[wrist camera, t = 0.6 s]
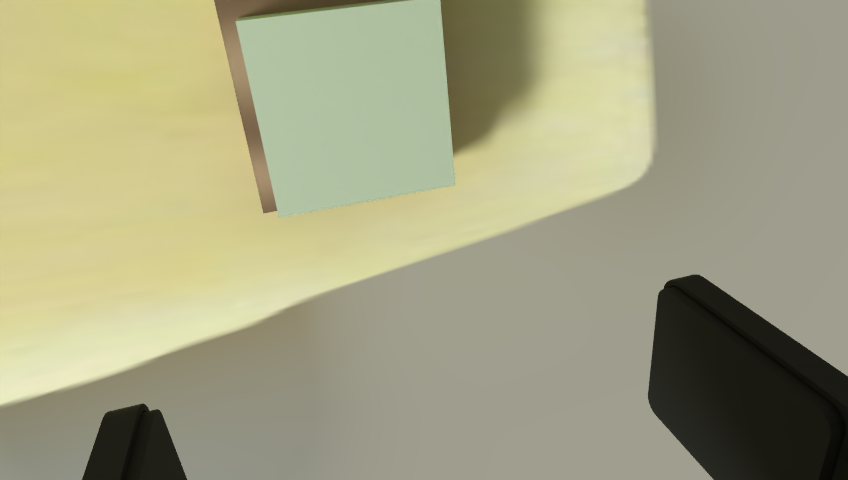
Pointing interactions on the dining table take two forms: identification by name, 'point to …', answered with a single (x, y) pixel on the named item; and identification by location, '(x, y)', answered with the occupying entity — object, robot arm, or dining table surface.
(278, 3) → the riser base
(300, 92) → the pale green square tile
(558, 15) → the dining table surface
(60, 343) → the dining table surface
